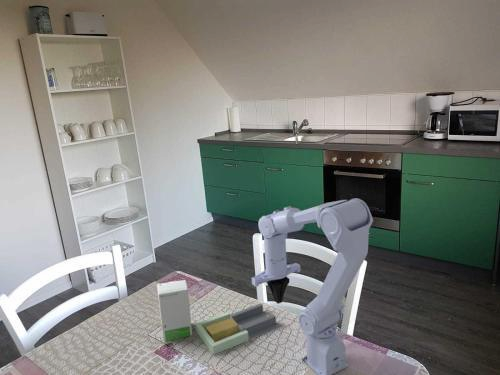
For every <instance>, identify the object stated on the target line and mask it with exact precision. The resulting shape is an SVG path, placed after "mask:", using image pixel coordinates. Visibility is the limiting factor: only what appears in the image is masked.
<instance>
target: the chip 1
mask: <svg viewBox="0 0 500 375" xmlns="http://www.w3.org/2000/svg"><path fill="white" fill-rule="evenodd" d="M206 332H207V333H208V334H209V336H210V337H211V338H212V339H213V341H214V342H217V341H220V340H222V339H225V338H226V335H225V329H224V328H223V327H222V325H221V324H220V323H219V322H218V323H215V324H213V325H210V326H207V327H206Z"/></svg>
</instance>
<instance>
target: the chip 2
mask: <svg viewBox="0 0 500 375" xmlns="http://www.w3.org/2000/svg"><path fill="white" fill-rule="evenodd" d="M219 323H220V324H221V325H222V327H223V328H224V329H225V335H226V338H227V337H230V336H232V335H235V334H237V333H240V330H239V327H238V324H237V323H236V322H235V321H234V320H233V319H232V318H230V319H227V320H225V321H222V322H219Z"/></svg>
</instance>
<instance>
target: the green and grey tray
mask: <svg viewBox="0 0 500 375" xmlns="http://www.w3.org/2000/svg"><path fill="white" fill-rule="evenodd" d="M263 306H264V305H263V304H262V303H258V304H256V305H252V306H251V307H248V308H245V309H242V310H239V311H237V312H234V313H232V314H231V312H229V311H226V312H224V313H221V314H219V315H216V316H213V317H211V318H207V319H205V320H202V321H200V322H197V323H195V324H194V325H195V332H196V333H197V335H198V336H199V338H200V339H201V340H202V341H203V343H204V345H206V347H207V348H208V350H209V351H210V352H211V354H212V355H217V354H219V353H221V352H223V351H225V350H228V349H231V348H233V347H235V346H238V345H240V344H243V343H245V342H247V341H250V340H253V339H255V338H257V337H260V336H263V335H264V334H267V333H269V332H272V331H274V330H277V329H280V326H279V325H278V324H277V317H276V315H275V314H271V315H266V313H264V307H263ZM230 318H232V319H233V320H234V321H235V322H236V323H237V324H238V327H239V333H237V334H235V335H232V336H230V337H227V338H225V339H222V340H220V341H217V342H214V341H213V339H212V338H211V337H210V336H209V334H208V333H207V332H206V327H207V326H210V325H213V324H215V323H218V322H222V321H225V320H227V319H230Z"/></svg>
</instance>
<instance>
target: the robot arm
mask: <svg viewBox="0 0 500 375" xmlns="http://www.w3.org/2000/svg"><path fill="white" fill-rule="evenodd" d="M373 222H374V219H373V216H372V213H371V211H370V208H369V206H368V205H367V203H366V202H365V201H364V200H362V199H360V198H357V197H356V198H351V199H349V200H348V199H341V200H337V201H331V202H325V203H322V204H320V205H317V206H313V207H310V208H307V209H303V210H301V209H300V208H298V207H292V205H289V206H286V207H283V210H279V209H278V210H274V211H273V212H272V213H270V214H267V215H262V216H261V217H260V218H259V220H258V230H259V232H260V234H261V235H262V237H263V245H264V246H263V247H264V261H265V270H263V271H261V272H260V273H258V274H257V275H255V276H253V277H251V285H252V286H254V287H255V288H257V287H259V286H260V285H261V284H267V286H268V287H269V290H270V291H271V293H272V297H273V301H274V302H275V303H276V304H282V303H283V300H284V296H285V291H286V289H287V287H288V285H289V284H290V278H289V277H288V276H289V275H291V274H294V273H300V272H301V265H300V264H299V263H297V262H295V263H290V264H288V263H287V262H288V261H287V260H288V259H287V244H286V243H287V242H286V239H287V238H288V234H289V233H290V234H291V233H294V232H299V231H302V229H303V228H304V227H305V225H306V224H307V225H308V224H313V223H317V224H316V225H317V227H318V228H319V229H321V230H322V231H323V233H324V235H325V236H326V238H327V240H328V241H329V243H330V245H331V246H332V248H333V250H334V252H337V255H336V257H335V259H334V261H333V263H332V265H331V266H330V269H329V271H328V272H327V275H326V277H325V279H324V281H323V283H322V286H320V289H319V292H318V293H317V296H316V297H314V299H313V300H311V302H310V303H308V304H307V305H306V307H305V309H303V310H301V311H300V312H299V314H298V323H299V326H300V329H301V330H302V331H303V333H305V335H306V336H305V339H306V356H305V357H303V358H301V360H302V361H303V362H304V363H305V364H306V365H307V366H309V368H311V369H312V370H313V371H314V373H316V374H317V375H334V374H336V373H337V372H340V371H342V370H344V369H345V368H347V367H349V364H348V363H347V362H346V345H345V343H344V341H343V340H342V339H341V338H340V337H339V335H338V333H337V328H338V327H339V326H338V323H339V322H340V321H342V319H343V312H344V311H343V310H344V307H345V304H344V302H343V299H344V297H345V296H346V294H347V292H348V291H349V288H350V287H351V284H353V281H354V280H355V277H357V274H358V272H359V270H360V268H361V267H362V265H363V263H364V261H365V260H366V257H367V256H368V253H369V251H368V250H369V235H370V234H369V232H370V228H371V226H372V224H373Z"/></svg>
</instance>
